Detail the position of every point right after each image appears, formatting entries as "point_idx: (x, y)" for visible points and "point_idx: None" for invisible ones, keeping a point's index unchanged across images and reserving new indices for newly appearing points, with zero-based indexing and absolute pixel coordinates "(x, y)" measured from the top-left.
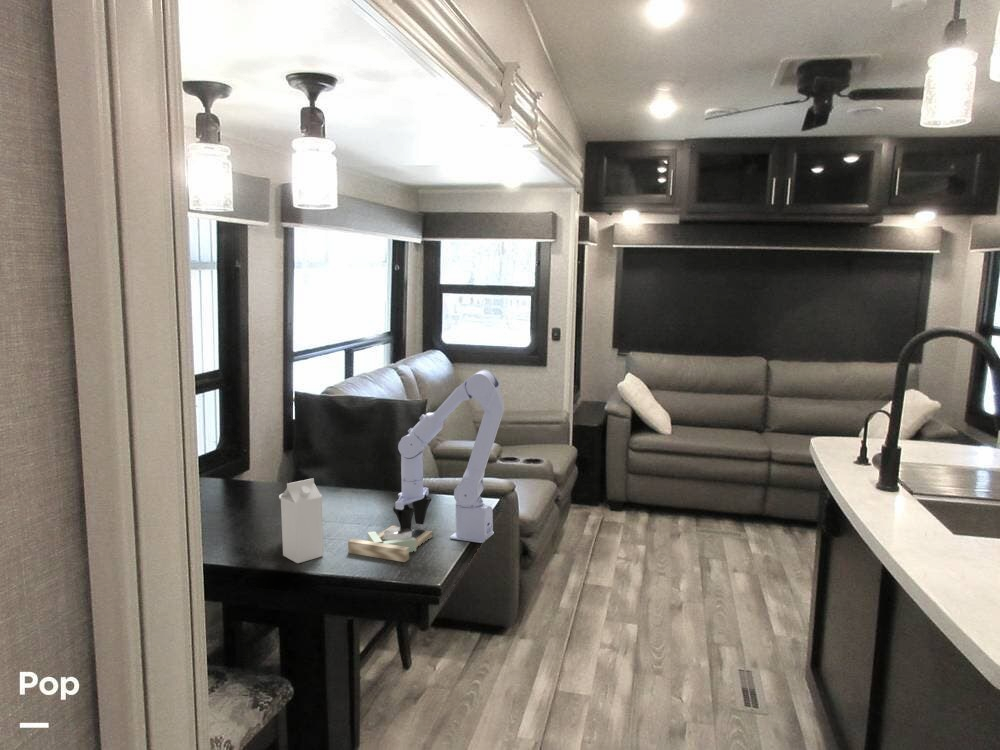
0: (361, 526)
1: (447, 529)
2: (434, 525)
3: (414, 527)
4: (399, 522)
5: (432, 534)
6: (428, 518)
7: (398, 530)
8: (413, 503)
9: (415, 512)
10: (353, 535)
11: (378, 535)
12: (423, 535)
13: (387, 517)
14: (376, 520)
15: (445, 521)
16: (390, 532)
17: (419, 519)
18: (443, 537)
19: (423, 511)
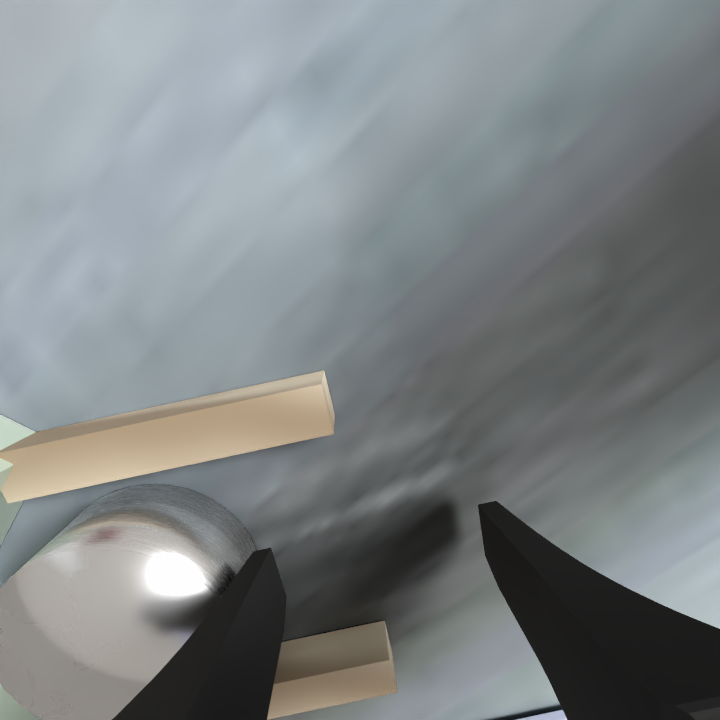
0: (240, 23)
1: None
2: (582, 534)
3: (479, 453)
4: (199, 625)
5: (393, 667)
6: (704, 406)
7: (141, 634)
8: (602, 666)
9: (531, 574)
10: (20, 158)
11: (56, 463)
12: (293, 700)
13: (590, 64)
14: (463, 26)
15: (687, 540)
16: (54, 618)
17: (499, 562)
18: (419, 697)
19: (552, 677)
